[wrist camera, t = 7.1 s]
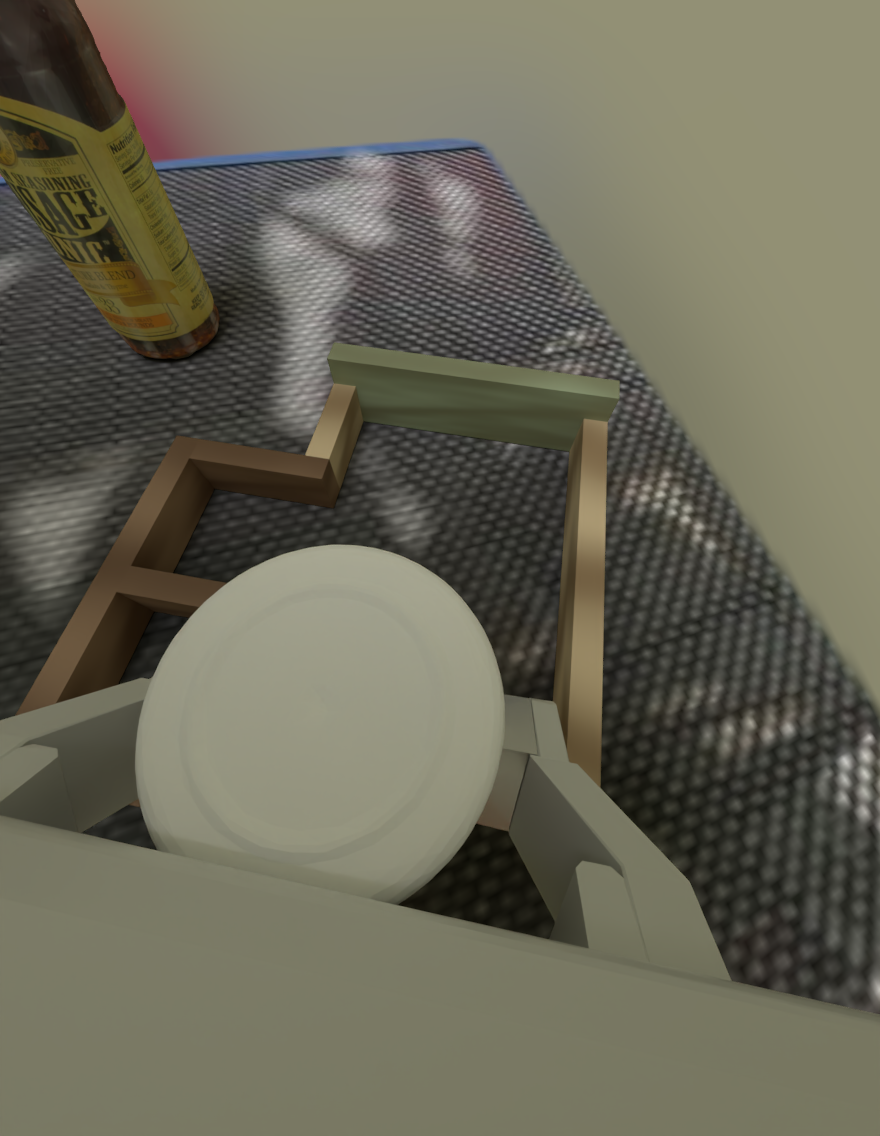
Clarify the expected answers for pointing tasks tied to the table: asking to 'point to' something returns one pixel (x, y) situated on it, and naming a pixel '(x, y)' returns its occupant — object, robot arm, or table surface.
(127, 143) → the sauce bottle
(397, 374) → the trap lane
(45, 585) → the table surface
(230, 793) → the sprinkles bottle
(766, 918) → the table surface
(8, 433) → the table surface
